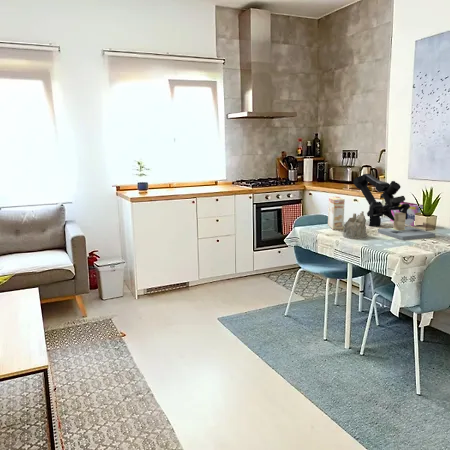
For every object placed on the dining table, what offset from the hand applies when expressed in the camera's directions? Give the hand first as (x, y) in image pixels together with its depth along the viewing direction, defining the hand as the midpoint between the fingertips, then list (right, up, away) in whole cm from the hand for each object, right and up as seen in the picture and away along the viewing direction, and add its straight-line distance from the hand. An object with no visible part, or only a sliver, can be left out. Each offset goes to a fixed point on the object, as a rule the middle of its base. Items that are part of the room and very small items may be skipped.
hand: (400, 219), depth 255 cm
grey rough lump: (-30, -10, -3) cm, 31 cm away
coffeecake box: (-34, -5, +21) cm, 40 cm away
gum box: (+17, -2, +31) cm, 35 cm away
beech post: (0, -6, +2) cm, 6 cm away
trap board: (+2, -9, -3) cm, 10 cm away
